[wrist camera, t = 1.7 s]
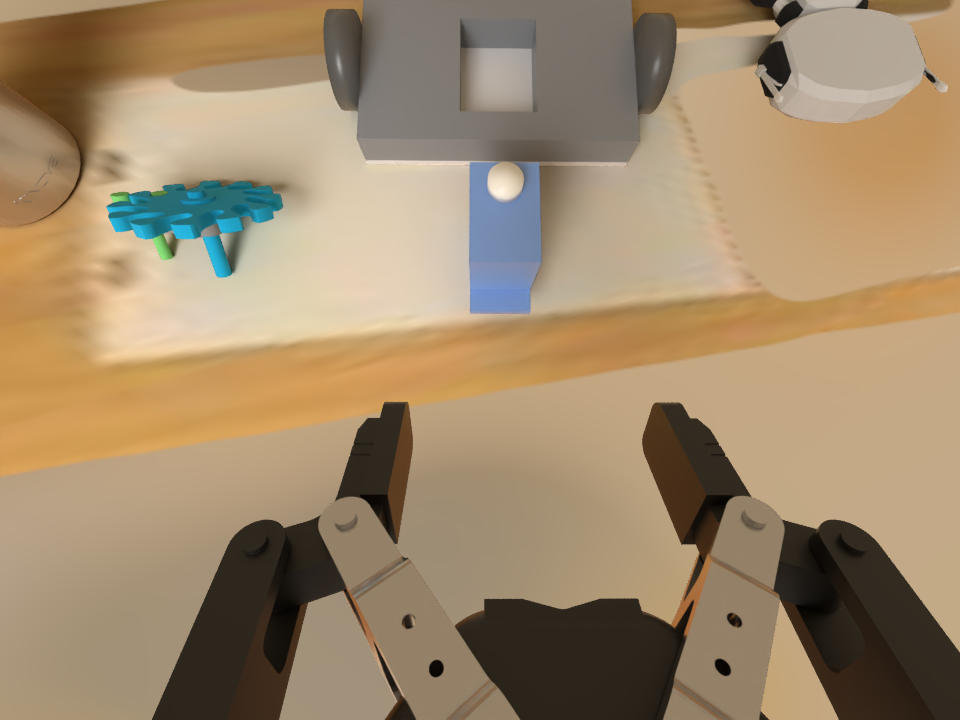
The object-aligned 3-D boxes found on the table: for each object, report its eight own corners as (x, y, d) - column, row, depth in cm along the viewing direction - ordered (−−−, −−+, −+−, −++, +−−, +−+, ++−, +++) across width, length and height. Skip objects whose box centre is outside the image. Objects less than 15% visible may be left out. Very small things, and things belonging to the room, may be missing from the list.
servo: (525, 322, 31) (544, 283, 23) (470, 322, 31) (469, 283, 23) (523, 207, 33) (541, 129, 24) (470, 207, 33) (469, 128, 24)
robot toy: (709, -4, 37) (747, 146, 34) (741, -66, 32) (788, 99, 29) (848, -11, 37) (899, 136, 34) (898, -75, 33) (962, 88, 29)
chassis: (645, 166, 33) (682, 110, 27) (346, 164, 33) (318, 106, 27) (637, 31, 35) (670, -49, 29) (353, 28, 35) (328, -54, 29)
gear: (306, 179, 31) (207, 222, 23) (321, 256, 34) (240, 317, 26) (174, 166, 33) (39, 202, 25) (201, 241, 36) (90, 294, 28)
